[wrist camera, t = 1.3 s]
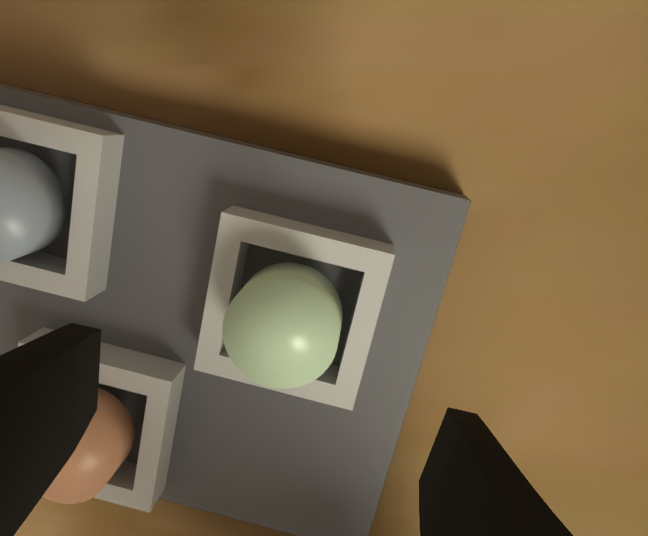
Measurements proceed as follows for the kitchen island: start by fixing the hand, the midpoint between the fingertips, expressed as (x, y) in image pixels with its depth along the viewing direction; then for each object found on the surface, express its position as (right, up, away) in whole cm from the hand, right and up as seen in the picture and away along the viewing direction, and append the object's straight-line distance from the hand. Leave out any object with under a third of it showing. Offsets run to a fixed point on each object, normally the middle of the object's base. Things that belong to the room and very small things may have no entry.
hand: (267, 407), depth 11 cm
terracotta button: (-8, -3, +9) cm, 13 cm away
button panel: (-4, +1, +11) cm, 12 cm away
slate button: (-9, +5, +7) cm, 13 cm away
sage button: (0, +1, +7) cm, 7 cm away
